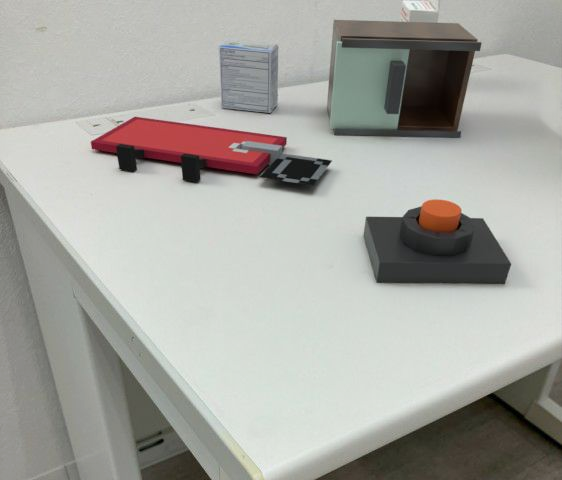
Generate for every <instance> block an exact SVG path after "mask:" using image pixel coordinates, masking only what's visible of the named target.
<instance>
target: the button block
mask: <svg viewBox="0 0 562 480" xmlns="http://www.w3.org/2000/svg"><path fill="white" fill-rule="evenodd" d="M421 207H422V205H421V206H418V207H414V208H410V209H408V210H407V211H406V212H405V213H404V214H403V216H365V221H364V227H363V228H364V229H363V239H364V243H365V247H366V250H367V254H368V257H369V261H370V265H371V268H372V272H373V276H374V278H375V283H377V284H447V285H448V284H449V285H451V284H453V285H455V284H456V285H457V284H458V285H459V284H460V285H463V284H464V285H465V284H466V285H467V284H468V285H505V284H506V282H507V279H508V276H509V273H510V269H511V266H512V262H511V261H510V260H509V257H508V256H507V255H506V253H505V252H504V250H503V248H502V246H501V245H500V244H499V241H498V240H497V238H496V237H495V235H494V233H493V232H492V231H491V228H490V227H489V225H488V224H487V223H486V221H485V219H484V218H483V217H470V216H468V215H466V214H465V213H463V212H461V215H460V219H459V223H458V227H457V230H456V231H452V232H436V231H432V230H428V229H425V228H423V227H422V226H420V225H419V217H420V212H421Z"/></svg>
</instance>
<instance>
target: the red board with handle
mask: <svg viewBox="0 0 562 480" xmlns="http://www.w3.org/2000/svg"><path fill="white" fill-rule="evenodd" d="M287 141H288V137H287V136H283V135H282V136H280V135H274V134H267V133H259V132H251V131H244V130H237V129H229V128H222V127H214V126H207V125H200V124H193V123H192V124H191V123H185V122H179V121H178V122H177V121H172V120H171V121H169V120H163V119H156V118H150V117H149V118H147V117H142V116H141V117H140V116H133V117H132V118H130V119H128V120H126V121H125V122H123V123H120V124H119V125H118V126H116V127H114V128H112V129H110V130H108V131H107V132H105V133H103V134H102V135H100V136H98V137H96V138H94V139H93V140H91V141H90V145H91V146H90V147H91V150H94V149H95V151H100V150H101V151H100V152H106V153H107V152H108V153H114V154H116V156H117V163H118V169H122V170H121V171H124V170H127V171H126V172H130V171H131V173H134V172H136V171H137V170H138V166H137V159H141V158H142V159H143V158H147V159H154V160H160V161H167V162H172V163H173V162H174V163H178V164H179V163H180V165H181V177H182V181H185V182H186V181H187V182H194V183H198V182H199V181H201V178H202V177H201V169H202V168H212V169H217V170H218V169H221V170H226V171H232V172H238V173H245V174H246V173H247V174H251V175H252V174H253V175H258V174H259V173H260V172H261V171H262V170H264V168H265V167H266V166H267V165H268V166H269V167H267V169H265V170H264V172H263V173H261V175H259V178H261V179H267V180H274V181H281V182H287V183H294V184H301V185H306V186H314V185H316V183H317V182H318V180H319V179H320V178H321V176H322V175H323V174H324V172H326V170H327V169H328V167H329V166H330V165H331V163H332V162H333V160H332V159H325V158H319V157H311V156H310V157H309V156H303V155H295V154H288V153H283V149H284V148H285V147H286V146H287V145H288V144H287V143H288V142H287Z"/></svg>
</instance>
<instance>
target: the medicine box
mask: <svg viewBox="0 0 562 480" xmlns="http://www.w3.org/2000/svg"><path fill="white" fill-rule="evenodd" d="M218 55H219V80H220V105H221V108H222V109H229V110H237V111H238V110H239V111H247V112H249V111H250V112H256V113H266V114H270V113H272V112H273V110H274V109H275V108H276V106H278V101H279V99H278V95H279V93H278V91H279V88H278V87H279V44H278V43H271V42H263V41H254V40H253V41H251V40H239V39H227V40H226V41H224V42H223V43H222V44H221V45H220V46H219V47H218Z"/></svg>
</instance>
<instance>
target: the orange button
mask: <svg viewBox="0 0 562 480" xmlns="http://www.w3.org/2000/svg"><path fill="white" fill-rule="evenodd" d="M421 206H422V207H421ZM421 206H420V207H421V212H420V217H419V225H420V226H422V227H423V228H425V229H428V230H432V231H436V232H452V231H456V230H457V227H458V223H459V219H460V215H461V213H462V208H461V206H459V205H458V204H457V203H455V202H452V201H449V200H445V199H437V198H436V199H429V200H425V201H424V202H423V203H422V204H421Z"/></svg>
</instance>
